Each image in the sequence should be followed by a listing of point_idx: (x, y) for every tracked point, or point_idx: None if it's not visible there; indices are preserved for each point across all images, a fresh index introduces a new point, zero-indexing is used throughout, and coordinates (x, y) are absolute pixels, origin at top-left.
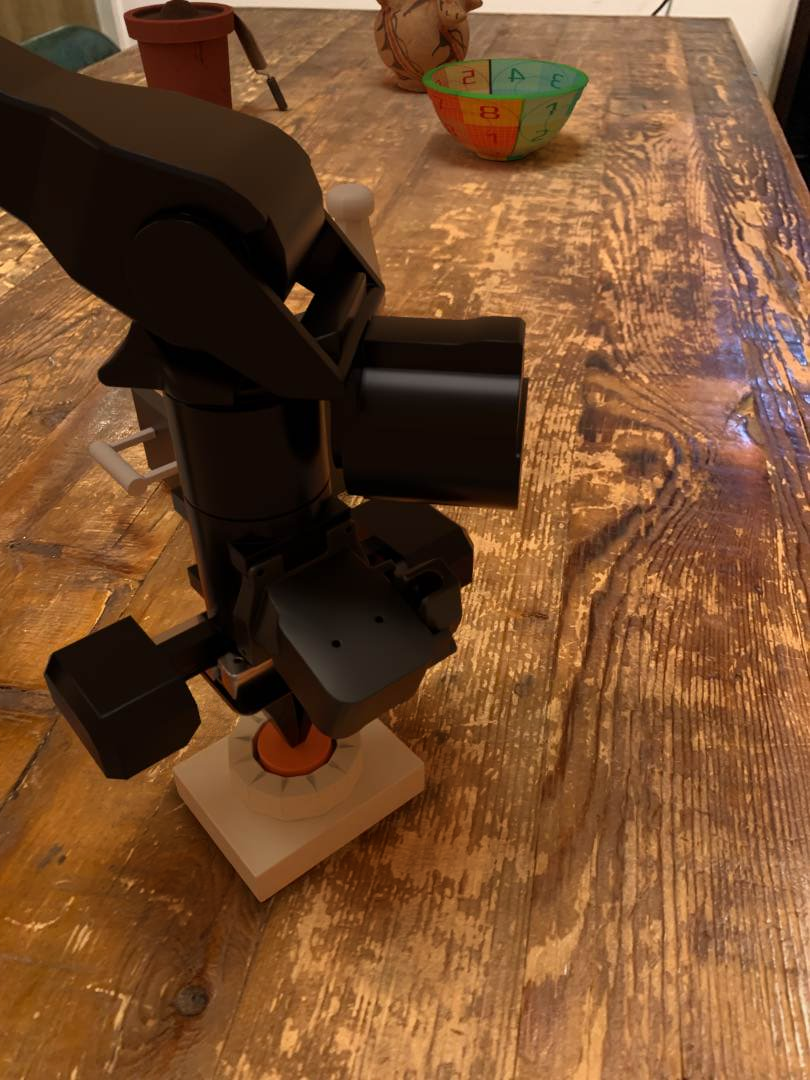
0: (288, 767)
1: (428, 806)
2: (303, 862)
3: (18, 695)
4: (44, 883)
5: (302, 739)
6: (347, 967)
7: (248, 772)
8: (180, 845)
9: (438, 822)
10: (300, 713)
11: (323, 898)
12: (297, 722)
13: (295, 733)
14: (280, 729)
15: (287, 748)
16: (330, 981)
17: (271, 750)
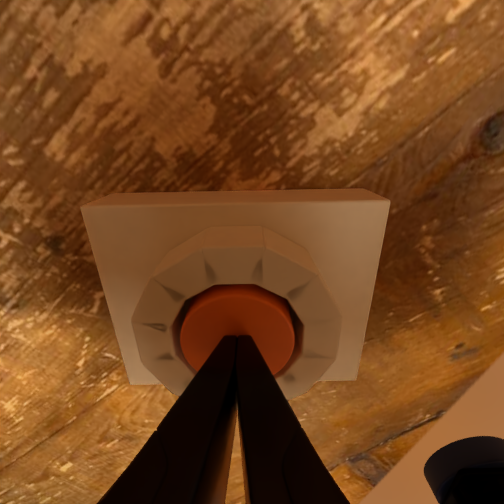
0: (274, 311)
1: (120, 169)
2: (306, 193)
3: (374, 478)
4: (487, 335)
5: (231, 340)
6: (346, 30)
7: (323, 336)
8: (376, 298)
9: (120, 140)
10: (225, 402)
11: (305, 145)
12: (238, 385)
13: (245, 361)
14: (283, 394)
15: (254, 338)
16: (375, 28)
17: (276, 348)
